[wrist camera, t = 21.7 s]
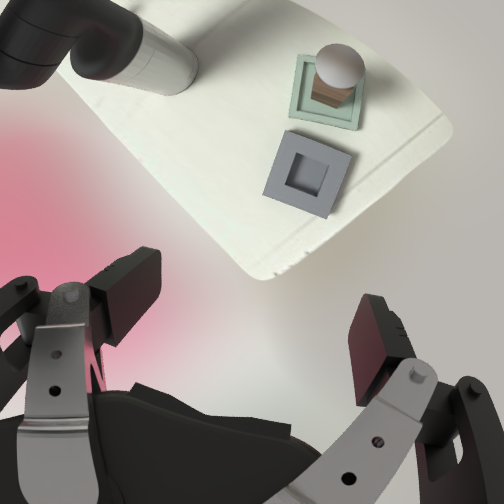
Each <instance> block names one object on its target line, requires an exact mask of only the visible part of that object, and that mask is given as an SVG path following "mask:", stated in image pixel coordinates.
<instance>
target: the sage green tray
mask: <svg viewBox="0 0 504 504" xmlns="http://www.w3.org/2000/svg"><path fill="white" fill-rule="evenodd" d="M315 61H316V57H311V56H305V55H299V54H298V57H297V63H296V70H295V77H294V83H293V90H292V96H291V102H290V109H289V115H288V116H289V117H290V118H296V119H301V120H307V121H312V122H317V123H322V124H326V125H331V126H335V127H340V128H344V129H348V130H352V131H357V127H358V121H359V114H360V108H361V101H362V94H363V86H364V78H365V72H364V75H363V78H362V79H361V80H360V82H359V83H358V84H357V85H355V86H354V88H353V90H352V93H351V94H350V95H349V96H348V97H347V98H346V99H345V100H344V101H343V102H342V103H341V104H340V105H339V106H338V108H337V109H335V108H332V107H330V106H328V105H325V104H322V103H320V102H317V101H315V100H312V99H311V92H312V86H313V79H314V75H315V73H316V70H315ZM365 70H366V69H365Z"/></svg>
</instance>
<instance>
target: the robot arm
mask: <svg viewBox="0 0 504 504" xmlns="http://www.w3.org/2000/svg"><path fill="white" fill-rule="evenodd" d="M70 49H71V50H70ZM69 51H70V61H71V65H72V68H73V69H74V71H75V72H76V73H77V74H78V75H79V76H81V77H83V78H87V79H92V80H98V81H103V82H109V83H114V84H119V85H124V86H128V87H133V88H137V89H141V90H146V91H149V92H153V93H157V94H161V95H175V94H178V93H180V92H182V91H183V90H185V89H186V88H187V87H188V86H189V85H190V84H191V83H192V82H193V80H194V78H195V76H196V74H197V70H198V62H197V58H196V56H195V54H194V53H193V52H192V51H191V50H189V49H188V48H187V47H185V46H184V45H182V44H181V43H180V42H178V41H177V40H175V39H174V38H172V37H171V36H169V35H168V34H166V33H165V32H163V31H162V30H160V29H159V28H157V27H156V26H154V25H152V24H151V23H149V22H147V21H146V20H144V19H142V18H141V17H139V16H137V15H136V14H134V13H132V12H130V11H128V10H126V9H125V8H123V7H121V6H119V5H117V4H116V3H114V2H112V1H110V0H10V1H9V3H8V4H7V6H6V7H5V9H4V10H3V12H2V13H1V15H0V89H10V90H26V89H32V88H36V87H39V86H41V85H42V84H44V83H45V82H46V81H47V80H48V79H49V78H50V77H51V75H52V74H53V73H54V72H55V70H56V69H57V67H58V66H59V65H60V63H61V62H62V60H63V59H64V57H65V56H66V55H67V53H68V52H69ZM160 291H161V252H160V251H159V250H157V249H153V248H148V247H143V246H142V247H140V248H139V249H137V250H136V251H135V252H133V253H132V254H130V255H127V256H124V257H122V258H119V259H117V260H116V261H114V262H113V263H111V264H110V266H107V267H106V268H105V269H104V270H102V271H100V272H99V273H98V274H97V275H95V276H94V277H92V278H91V279H90V280H89V281H87V282H86V283H84V284H83V283H80V282H68V283H64V284H61V285H59V286H58V287H56V288H55V289H54V290H53V292H45V291H40V290H39V286H38V281H37V279H36V278H34V277H32V276H21V277H18V278H15V279H13V280H12V281H10V282H9V283H7V284H6V285H5V286H3V287H2V288H0V336H1V334H2V333H3V332H4V331H5V330H6V329H7V328H8V327H9V326H10V325H12V324H13V323H14V322H15V321H16V322H17V325H18V328H19V331H20V333H21V335H20V336H19V337H18V338H17V339H16V340H15V341H14V342H13V343H12V344H11V345H10V346H9V347H8V348H7V349H6V350H5V351H4V352H3V351H2V349H1V347H0V412H1V411H2V410H3V408H4V407H5V406H6V404H7V403H8V402H9V401H10V399H11V398H12V397H13V396H14V394H15V393H16V392H17V391H18V389H19V388H20V387H21V386H22V384H23V383H24V382H25V381H26V380H27V385H26V397H25V413H24V414H23V415H18V416H15V417H11V418H6V419H2V420H0V504H374V503H375V502H376V500H377V499H378V498H379V496H380V495H381V493H382V492H383V491H384V489H385V488H386V486H387V485H388V484H389V482H390V480H391V479H392V478H393V476H394V475H395V473H396V472H397V470H398V468H399V467H400V465H401V464H402V462H403V460H404V459H405V457H406V455H407V454H408V452H409V450H410V449H411V447H412V445H413V443H414V442H415V448H416V457H417V466H418V476H419V491H420V504H504V431H503V428H502V426H501V423H500V420H499V418H498V415H497V412H496V410H495V407H494V404H493V402H492V400H491V397H490V395H489V393H488V391H487V389H486V387H485V385H484V384H483V383H482V382H480V381H479V380H478V379H476V378H474V377H471V376H464V377H462V378H461V379H460V380H459V381H458V383H457V384H456V385H455V386H451V385H448V384H445V383H442V382H439V381H438V378H437V374H436V372H435V371H434V369H433V368H432V367H431V366H430V365H429V364H428V363H426V362H424V361H422V360H420V359H417V357H416V355H415V352H414V350H413V347H412V345H411V342H410V340H409V338H408V337H407V333H406V331H405V330H404V326H403V324H402V321H401V319H400V318H399V317H398V316H397V315H396V314H395V313H394V312H393V311H389V309H388V306H387V304H386V302H385V299H384V297H382V296H376V295H371V294H364V295H363V297H362V298H361V301H360V304H359V306H358V309H357V312H356V314H355V317H354V319H353V322H352V324H351V327H350V330H349V335H348V344H349V351H350V358H351V365H352V372H353V380H354V388H355V397H356V406H362V407H366V408H365V409H364V410H363V411H362V413H361V414H360V415H359V416H358V417H357V418H356V419H355V421H354V422H353V423H352V424H351V425H350V426H349V427H348V428H347V430H346V431H345V432H344V433H343V434H342V435H341V436H340V437H339V438H338V439H337V440H336V441H335V442H334V443H333V444H332V446H330V447H329V448H328V449H327V450H326V451H325V452H324V453H323V454H320V453H319V452H318V451H317V450H316V449H314V448H313V447H312V446H310V445H308V444H307V443H305V442H303V441H301V440H299V439H297V438H295V437H293V436H290V433H291V424H285V423H279V422H274V421H268V420H263V419H258V418H253V417H226V416H225V417H224V416H210V415H205V414H203V413H201V412H199V411H197V410H195V409H194V408H192V407H190V406H188V405H187V404H185V403H183V402H181V401H180V400H178V399H176V398H175V397H173V396H171V395H169V394H166V393H163V392H160V391H158V390H155V389H152V388H149V387H147V386H144V385H142V384H139V383H135V384H134V386H133V387H132V389H131V390H130V392H129V391H119V390H115V391H114V390H112V391H107V389H106V382H105V374H104V366H103V356H102V350H101V346H102V345H103V343H106V344H109V345H111V346H114V347H116V346H117V345H118V344H119V343H120V342H121V340H122V339H123V338H124V337H125V336H126V334H127V333H128V332H129V331H130V330H131V328H132V327H133V326H134V325H135V324H136V323H137V321H138V320H139V319H140V318H141V317H142V316H143V314H144V313H145V312H146V311H147V310H148V309H149V308H150V307H151V305H152V304H153V303H154V302H155V301H156V299H157V298H158V297H159V294H160ZM458 434H459V435H460V439H461V443H462V447H463V456H462V459H461V461H460V462H459V464H458V463H457V458H456V453H455V448H454V443H453V439H455V437H457V435H458Z"/></svg>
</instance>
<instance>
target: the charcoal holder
mask: <svg viewBox="0 0 504 504" xmlns="http://www.w3.org/2000/svg"><path fill="white" fill-rule="evenodd" d="M351 158H352V156H350V155H348V154H346V153H343V152H341V151H338V150H336V149H334V148H331V147H329V146H326V145H324V144H321V143H319V142H316V141H314V140H311V139H308V138H306V137H303V136H300V135H298V134H295V133H292V132H289V131H286V130H285V132H284V135H283V138H282V141H281V143H280V146H279V149H278V152H277V155H276V157H275V160H274V163H273V166H272V169H271V172H270V174H269V177H268V180H267V183H266V186H265V189H264V192H263V194H262V195H264V196H267V197H270V198H272V199H275V200H278V201H280V202H283V203H286V204H288V205H291V206H294V207H296V208H299V209H301V210H304V211H306V212H309V213H312V214H314V215H317V216H319V217H322V218H324V219H327V217H328V215H329V213H330V210H331V208H332V206H333V203H334V201H335V198H336V196H337V193H338V191H339V188H340V186H341V183H342V181H343V178H344V176H345V173H346V171H347V168H348V166H349V163H350V160H351Z"/></svg>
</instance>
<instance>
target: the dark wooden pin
mask: <svg viewBox="0 0 504 504" xmlns="http://www.w3.org/2000/svg"><path fill="white" fill-rule="evenodd" d="M315 70H316V73H315V75H314V79H313V86H312V92H311V99H312V100H315V101H317V102H320V103H322V104H325V105H328V106H330V107H332V108H335V109H337V108H338V106H339V105H340V104H341V103H342V102H343V101H344V100H345V99H346V98H347V97H348V96H349V95H350V94H351V93H352V90H353V88H354V86H355V85H357V84H358V83H359V82H360V80H361V79H362V78H363V75H364V72H365V66H364V62H363V60H362V58H361V56H360V55H359V54H358V53H357V52H356V51H355V50H354V49H352V48H351V47H349V46H346V45H343V44H331V45H327V46H325V47H324V48H322V49H321V50H320V51H319V53H318V54H317V56H316V61H315Z"/></svg>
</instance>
